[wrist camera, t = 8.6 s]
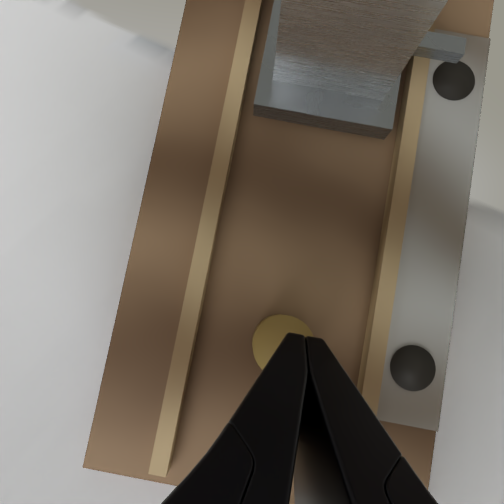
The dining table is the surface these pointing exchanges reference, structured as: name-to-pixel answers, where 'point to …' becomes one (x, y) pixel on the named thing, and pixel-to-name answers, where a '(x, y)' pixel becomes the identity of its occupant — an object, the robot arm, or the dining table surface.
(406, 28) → the grey rectangular block
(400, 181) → the trammel board
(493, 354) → the dining table surface
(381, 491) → the robot arm
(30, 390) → the dining table surface
